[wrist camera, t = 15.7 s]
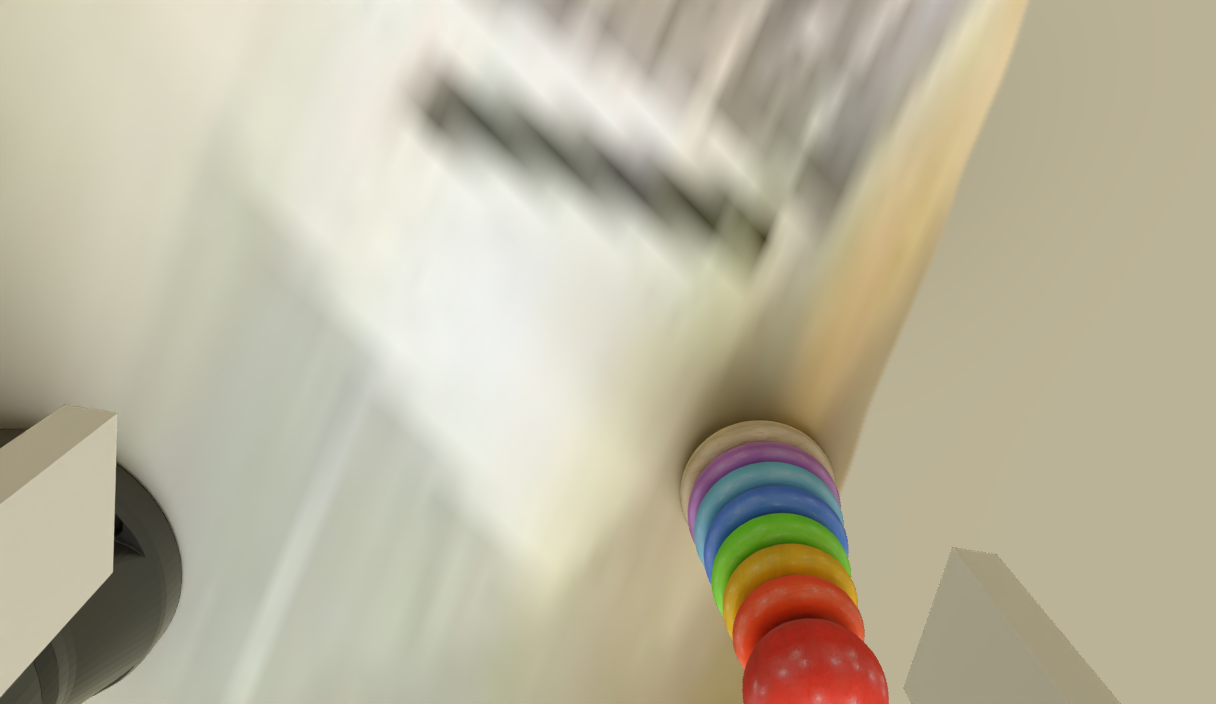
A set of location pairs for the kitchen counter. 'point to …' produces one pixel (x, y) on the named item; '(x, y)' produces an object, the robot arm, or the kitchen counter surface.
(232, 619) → the kitchen counter surface
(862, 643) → the stacking toy
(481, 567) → the kitchen counter surface
